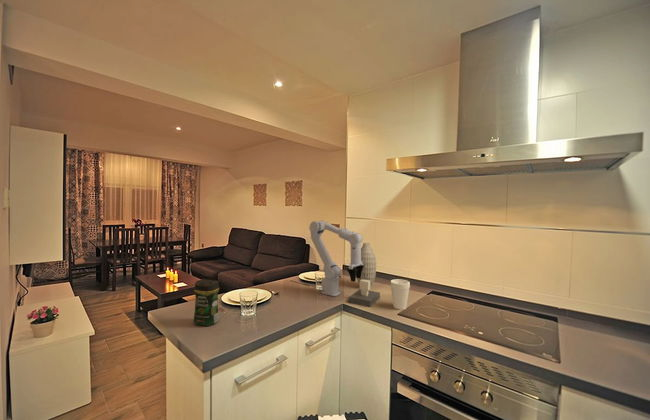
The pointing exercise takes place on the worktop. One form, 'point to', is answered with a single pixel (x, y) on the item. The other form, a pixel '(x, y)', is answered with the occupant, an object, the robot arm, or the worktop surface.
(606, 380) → the worktop surface
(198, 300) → the coffee jar
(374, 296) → the socket block
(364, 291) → the plug
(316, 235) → the robot arm
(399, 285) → the foam cup
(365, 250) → the vase
